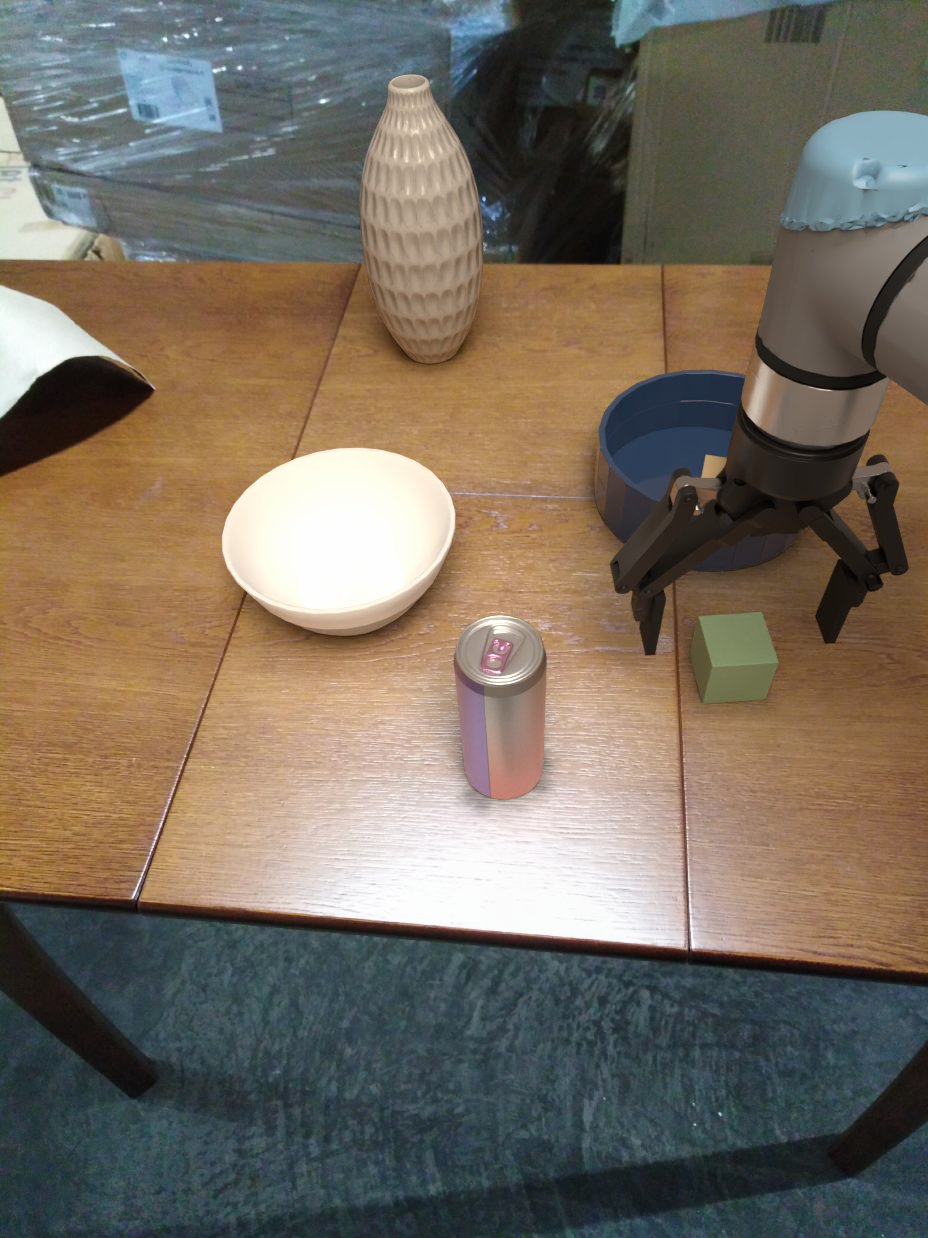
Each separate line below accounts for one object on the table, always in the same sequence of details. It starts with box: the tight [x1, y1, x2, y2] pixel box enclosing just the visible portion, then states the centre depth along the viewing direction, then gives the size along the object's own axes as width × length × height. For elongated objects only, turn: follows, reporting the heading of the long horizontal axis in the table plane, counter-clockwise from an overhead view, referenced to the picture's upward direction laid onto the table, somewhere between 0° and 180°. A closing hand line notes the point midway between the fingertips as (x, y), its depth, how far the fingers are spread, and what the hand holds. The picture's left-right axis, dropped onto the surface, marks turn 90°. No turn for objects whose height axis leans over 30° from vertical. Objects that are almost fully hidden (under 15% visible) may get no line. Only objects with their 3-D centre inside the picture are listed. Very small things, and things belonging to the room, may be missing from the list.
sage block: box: [689, 611, 780, 705], centre depth 70 cm, size 5×5×5 cm
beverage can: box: [453, 614, 548, 800], centre depth 62 cm, size 6×6×15 cm
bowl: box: [221, 447, 457, 637], centre depth 77 cm, size 19×20×8 cm
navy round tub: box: [593, 369, 805, 572], centre depth 83 cm, size 20×20×7 cm
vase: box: [358, 74, 485, 365], centre depth 93 cm, size 13×13×28 cm
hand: (735, 635), depth 68 cm, fingers open, 13 cm apart
